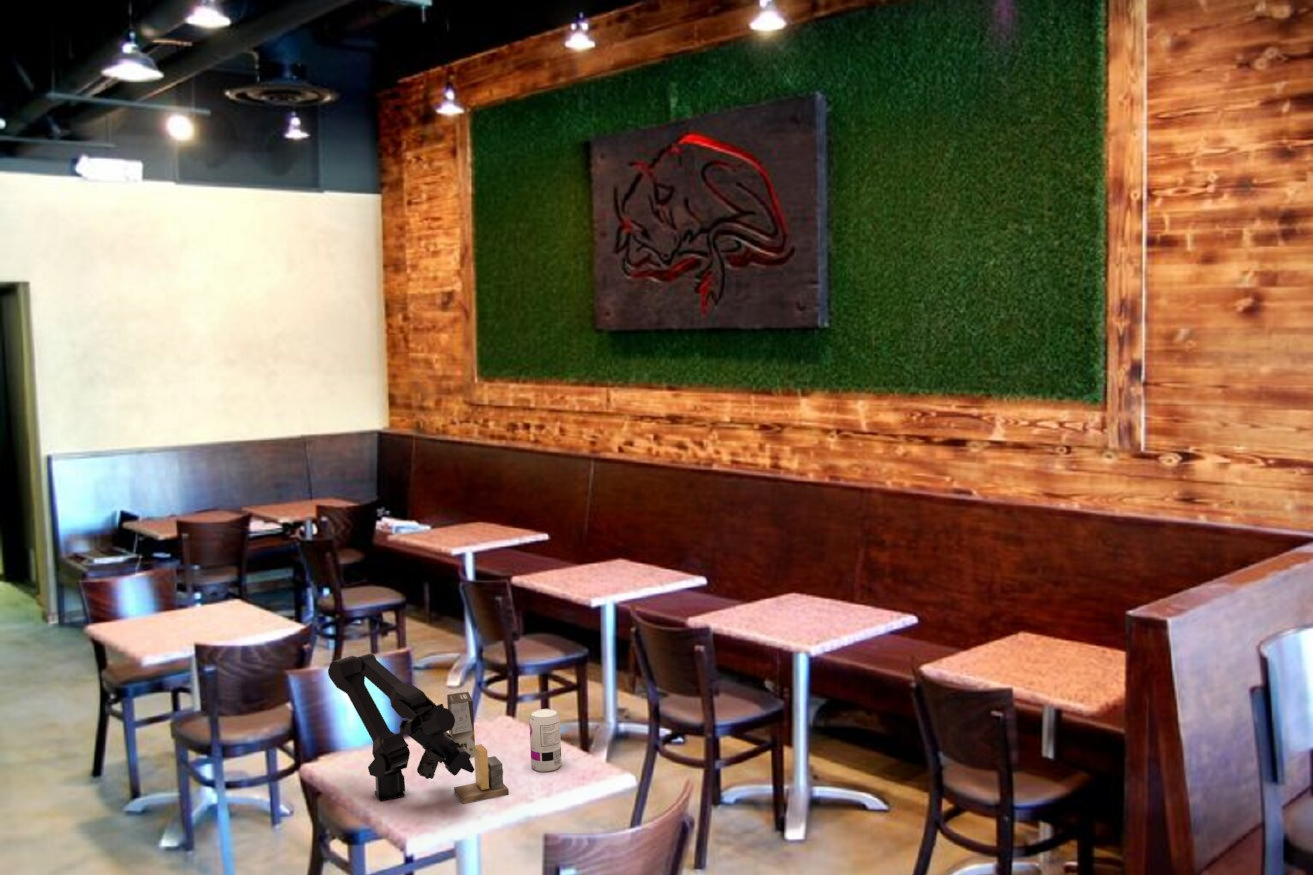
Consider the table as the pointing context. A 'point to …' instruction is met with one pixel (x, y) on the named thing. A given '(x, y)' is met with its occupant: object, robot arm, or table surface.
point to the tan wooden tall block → (481, 767)
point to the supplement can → (545, 740)
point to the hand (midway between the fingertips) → (472, 770)
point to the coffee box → (462, 720)
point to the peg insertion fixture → (495, 789)
